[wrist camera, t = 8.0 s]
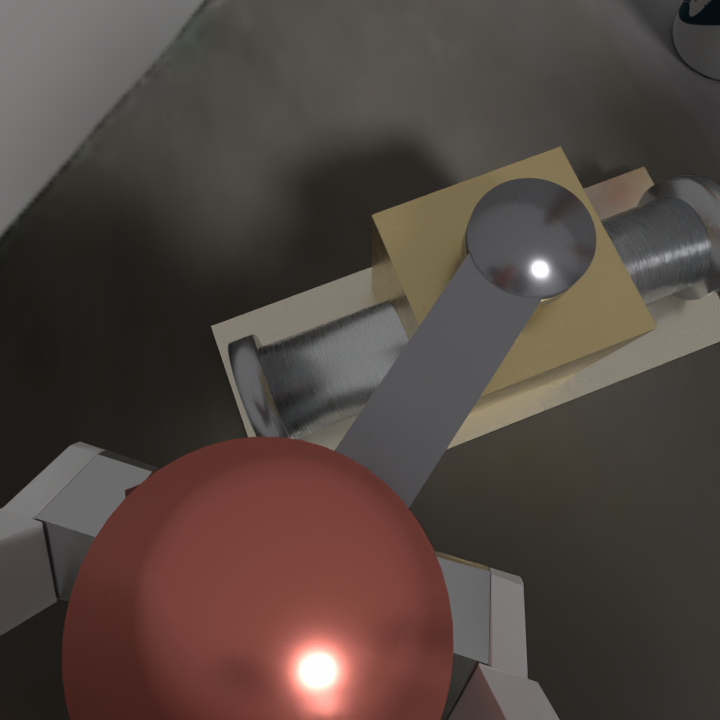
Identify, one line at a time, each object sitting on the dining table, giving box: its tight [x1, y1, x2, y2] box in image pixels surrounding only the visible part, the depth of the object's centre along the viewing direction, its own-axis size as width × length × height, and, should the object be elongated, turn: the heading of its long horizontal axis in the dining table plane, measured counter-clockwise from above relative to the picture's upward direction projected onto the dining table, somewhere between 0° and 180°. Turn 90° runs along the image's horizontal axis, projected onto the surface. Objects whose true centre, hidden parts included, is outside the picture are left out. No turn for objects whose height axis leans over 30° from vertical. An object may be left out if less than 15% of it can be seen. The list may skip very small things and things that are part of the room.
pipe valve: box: [211, 146, 720, 451], centre depth 21 cm, size 22×9×9 cm, turn 111°
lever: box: [62, 178, 597, 720], centre depth 11 cm, size 14×4×10 cm, turn 146°
